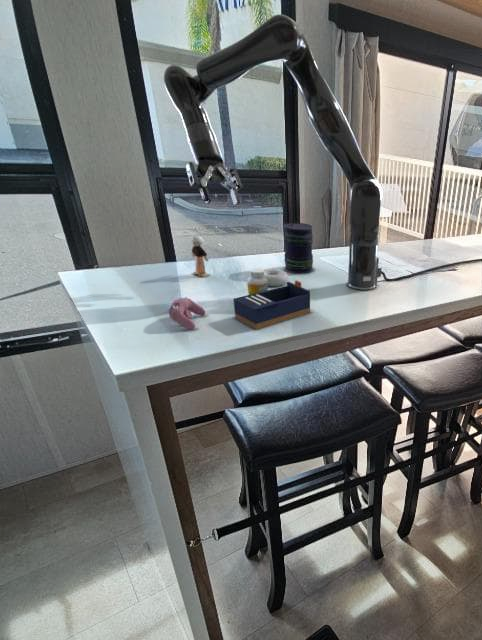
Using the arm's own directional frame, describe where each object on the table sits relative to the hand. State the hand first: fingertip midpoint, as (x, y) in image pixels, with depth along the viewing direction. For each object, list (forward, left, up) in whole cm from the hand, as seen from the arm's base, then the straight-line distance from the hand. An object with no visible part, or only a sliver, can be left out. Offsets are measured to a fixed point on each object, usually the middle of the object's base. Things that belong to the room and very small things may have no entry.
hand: (223, 203), depth 119 cm
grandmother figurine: (+3, -13, -24) cm, 27 cm away
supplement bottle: (+3, +17, -24) cm, 30 cm away
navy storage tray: (+5, +27, -24) cm, 36 cm away
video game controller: (+24, +17, -24) cm, 38 cm away
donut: (-11, +5, -24) cm, 27 cm away
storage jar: (-27, -1, -24) cm, 36 cm away
